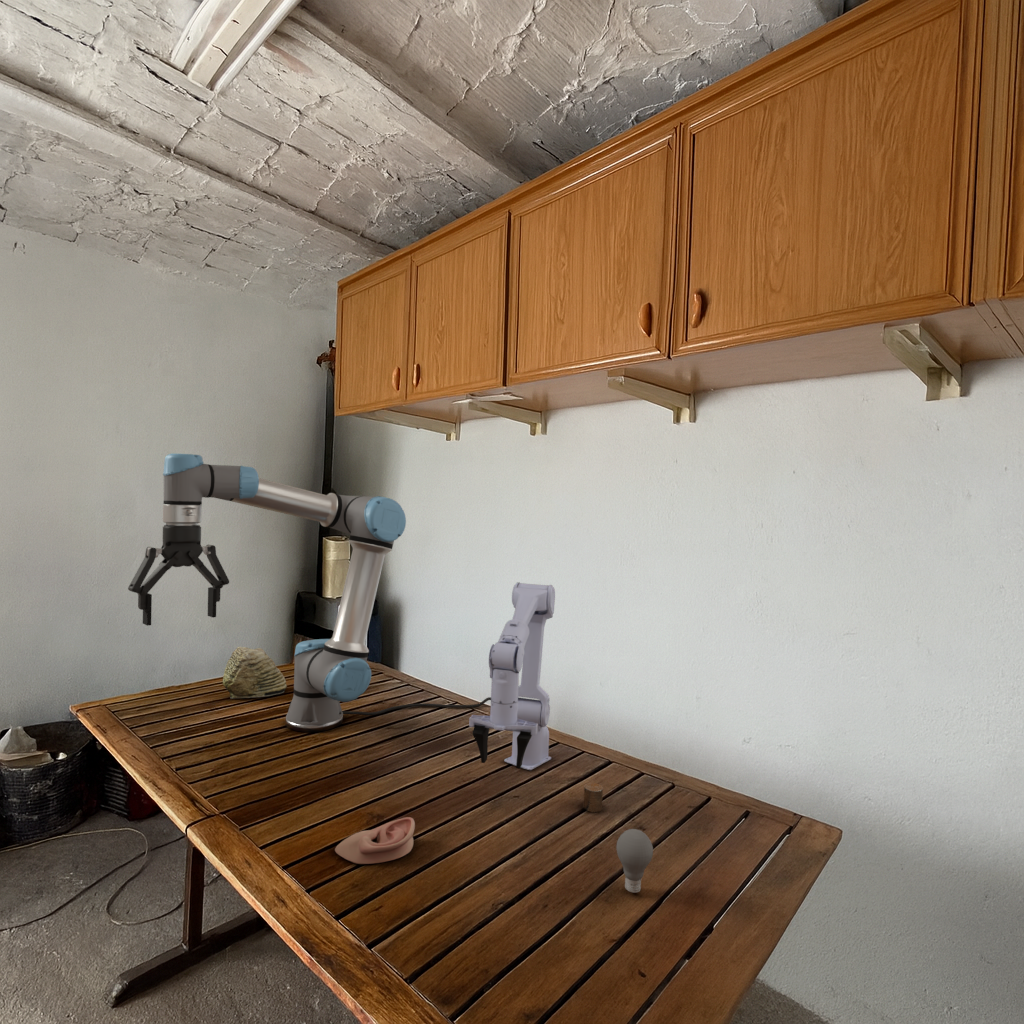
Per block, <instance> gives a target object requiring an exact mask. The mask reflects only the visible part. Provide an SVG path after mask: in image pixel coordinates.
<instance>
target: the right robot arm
mask: <svg viewBox="0 0 1024 1024" xmlns="http://www.w3.org/2000/svg"><path fill="white" fill-rule="evenodd" d="M555 602H556V590H555V587H554V586H553V585H552V584H537V583H525V582H520V581H519V582H518V581H517V582H516V583H515V584H514V585H513V587H512V592H511V603H512V605H513V608H514V612H513V614H512V615H513V616H512V619H510V620H508V621H506V623H505V624H504V626H503V629H502V631H501V633H500V636H499V639H498V641H497V642H495V643H494V644H493V643H492V644H491V645H490V648H489V651H488V652H489V653H488V669H489V678H490V679H491V686H490V687H491V688H490V697H491V700H490V713H489V715H477V714H471V716H470V717H469V718H468V720H469V721H468V727H469V728H473V730H472V736H473V738H474V740H475V742H476V745H477V748H478V752H479V755H480V763H482V764H485V763H486V762H487V761H488V755H489V753H488V752H489V751H488V748H489V746H488V745H489V744H488V743H489V734H490V729H491V730H495V731H507V732H512V743H511V756H508V757H507V758H504V762H505V763H507V764H510V765H512V766H515V767H516V769H524V770H526V771H533V770H534V769H536V768H537V767H540V766H541V765H544V764H545V763H547V762H549V761H551V760H552V756H550V755H549V752H550V751H549V750H550V749H549V748H550V730H549V728H548V724H549V719H550V712H551V711H550V710H551V706H550V694H549V693H548V692H547V691H546V690H545V689H543V687H541V685H540V683H541V672H542V671H541V670H542V661H543V660H542V657H543V646H544V636H545V626H546V622H547V620H549V619H552V618H553V617H554V613H555V604H556V603H555ZM520 672H521V677H520ZM519 680H520V681H519ZM519 682H520V683H519ZM519 684H520V685H519Z"/></svg>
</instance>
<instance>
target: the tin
mask: <svg viewBox="0 0 1024 1024" xmlns="http://www.w3.org/2000/svg"><path fill="white" fill-rule="evenodd" d="M603 792H604V787H603V786H602V785H601V784H599V783H595V782H588V783H585V784H584V786H583V804H582V805H583V809H584V810H585V811H587V812H589V813H599V812H601V811H602V810H603V797H604V796H603V795H604V793H603Z"/></svg>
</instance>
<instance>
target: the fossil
mask: <svg viewBox="0 0 1024 1024" xmlns="http://www.w3.org/2000/svg"><path fill="white" fill-rule="evenodd" d="M222 676H223V677H222V685H223V687H224V688H225V690H226V691H228V693H229V698H230V699H250V698H264V697H271V696H275V695H281V694H284V693H285V691H286V689H287V687H288V686H287V680H286V678H285V676H284V674H283V673H282V672H281V669H279V668H278V667H277V665H276V663H275V662H274V660H273V659H272V658H271V657H270V656H269V655H268V654H267V653H266V652H265V650H264V649H263V648H260V647H258V648H251V647H247V646H246V647H245V646H238V647H237V648H236V649H235V650H233V651H232V653H231V656H230V657H229V659H228V660H227V663H226V666H225V668H224V671H223V675H222Z"/></svg>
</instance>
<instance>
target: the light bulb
mask: <svg viewBox="0 0 1024 1024" xmlns="http://www.w3.org/2000/svg"><path fill="white" fill-rule="evenodd" d="M615 849H616V854H617V857H618V859H619V861H620V863H621V865H622V867H623V873H624V874H623V875H624V876H625V878H624V888H625V890H627V891H628V892H630V893H634V894H635V893H639V892H640V891H641V889H642V887H641V886H642V879H643V877H644V875H645V871H646V868H647V867H648V866H649V864H650V863H651V861H652V859H653V855H654V847H653V843H652V841H651V838H649V836H648V835H647V834H646V833H645V832H643V831H642V830H641V829H636V828H629V829H627V830H625V831H623V832H622V833H621V834H620V835H619V837H618V839H617V841H616V847H615Z"/></svg>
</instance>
